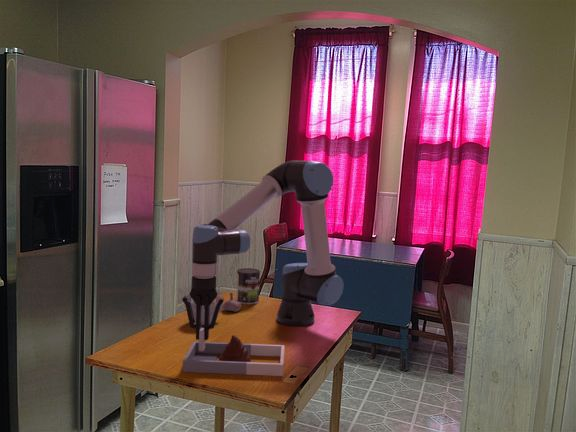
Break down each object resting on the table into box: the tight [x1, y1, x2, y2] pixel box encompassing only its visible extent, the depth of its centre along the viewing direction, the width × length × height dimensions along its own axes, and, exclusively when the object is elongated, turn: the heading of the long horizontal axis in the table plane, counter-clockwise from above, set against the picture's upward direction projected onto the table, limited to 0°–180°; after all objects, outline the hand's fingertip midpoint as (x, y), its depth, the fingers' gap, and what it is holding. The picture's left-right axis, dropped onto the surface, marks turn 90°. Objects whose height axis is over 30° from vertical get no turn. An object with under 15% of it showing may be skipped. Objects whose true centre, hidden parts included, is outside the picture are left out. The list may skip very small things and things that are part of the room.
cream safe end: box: [246, 343, 285, 377], centre depth 161 cm, size 11×16×4 cm
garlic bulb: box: [222, 291, 242, 313], centre depth 215 cm, size 8×7×8 cm
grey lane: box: [182, 341, 252, 376], centre depth 161 cm, size 19×16×4 cm
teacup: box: [190, 300, 224, 326], centre depth 198 cm, size 14×11×8 cm
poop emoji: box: [218, 334, 252, 362], centre depth 160 cm, size 10×8×9 cm
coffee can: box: [235, 267, 261, 305], centre depth 229 cm, size 10×10×14 cm
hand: (201, 349), depth 160 cm, fingers closed
